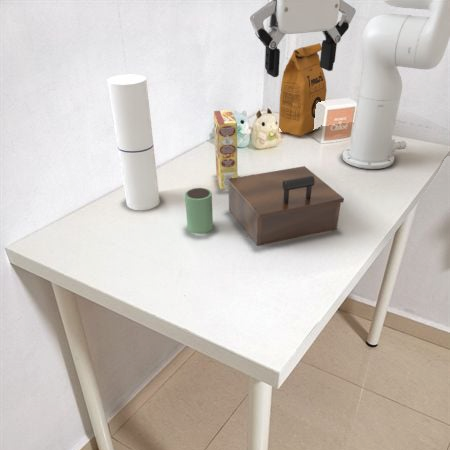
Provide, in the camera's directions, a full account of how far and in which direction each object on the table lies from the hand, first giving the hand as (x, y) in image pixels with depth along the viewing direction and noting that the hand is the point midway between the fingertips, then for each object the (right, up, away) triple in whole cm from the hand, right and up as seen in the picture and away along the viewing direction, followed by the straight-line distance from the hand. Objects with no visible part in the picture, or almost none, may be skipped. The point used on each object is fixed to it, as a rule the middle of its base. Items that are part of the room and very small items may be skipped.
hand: (299, 72), depth 77 cm
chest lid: (-1, -16, +14) cm, 21 cm away
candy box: (-12, -10, +33) cm, 36 cm away
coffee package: (+10, +12, +59) cm, 61 cm away
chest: (-1, -22, +18) cm, 28 cm away
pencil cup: (-17, -23, +16) cm, 33 cm away
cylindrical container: (-30, -16, +26) cm, 43 cm away
